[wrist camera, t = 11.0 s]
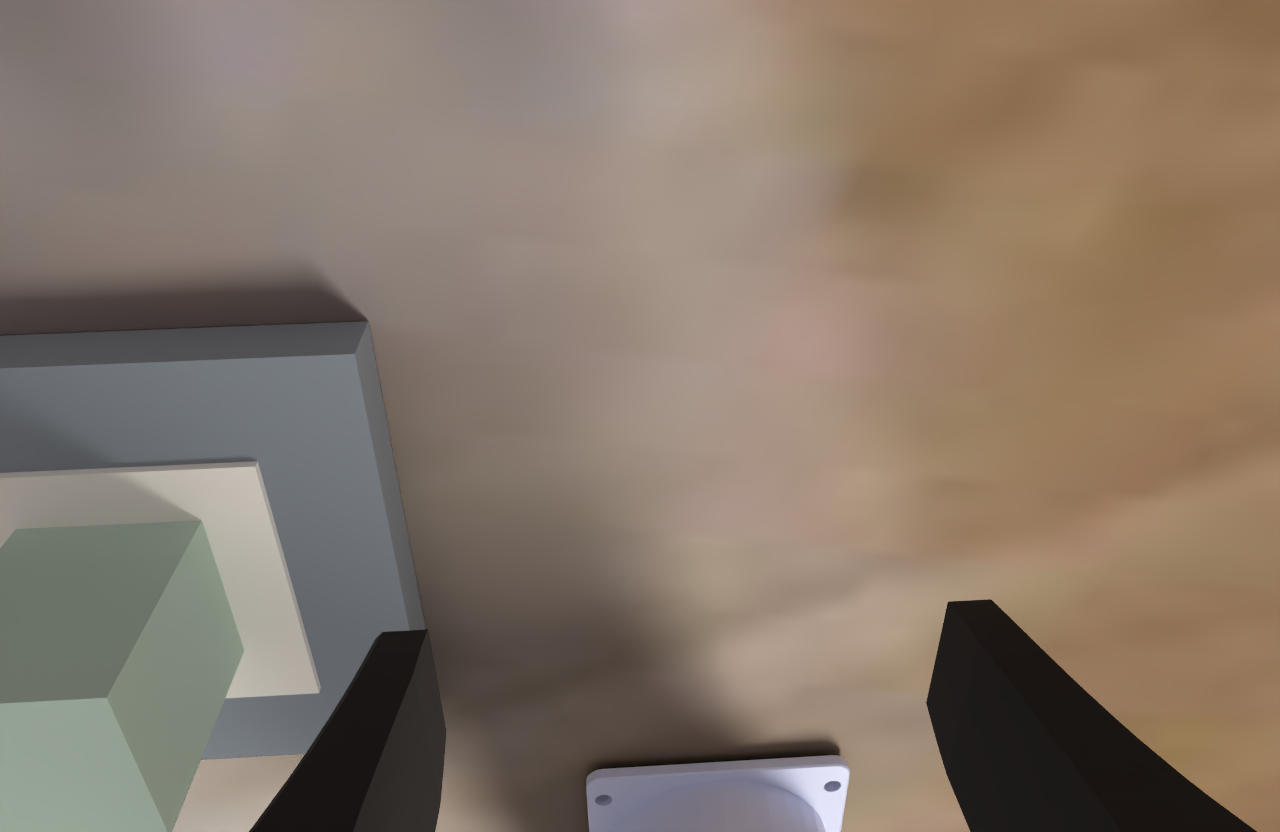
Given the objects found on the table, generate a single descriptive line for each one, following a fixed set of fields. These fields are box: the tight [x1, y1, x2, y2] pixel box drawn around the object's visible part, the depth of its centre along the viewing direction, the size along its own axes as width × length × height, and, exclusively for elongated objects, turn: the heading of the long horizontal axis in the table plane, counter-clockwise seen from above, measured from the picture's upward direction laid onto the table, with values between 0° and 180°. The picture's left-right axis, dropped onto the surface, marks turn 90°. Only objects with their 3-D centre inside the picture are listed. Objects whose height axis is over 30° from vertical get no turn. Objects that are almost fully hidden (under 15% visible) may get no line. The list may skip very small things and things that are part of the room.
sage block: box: [0, 521, 244, 832], centre depth 20 cm, size 4×4×5 cm
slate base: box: [0, 321, 426, 760], centre depth 23 cm, size 12×12×2 cm
